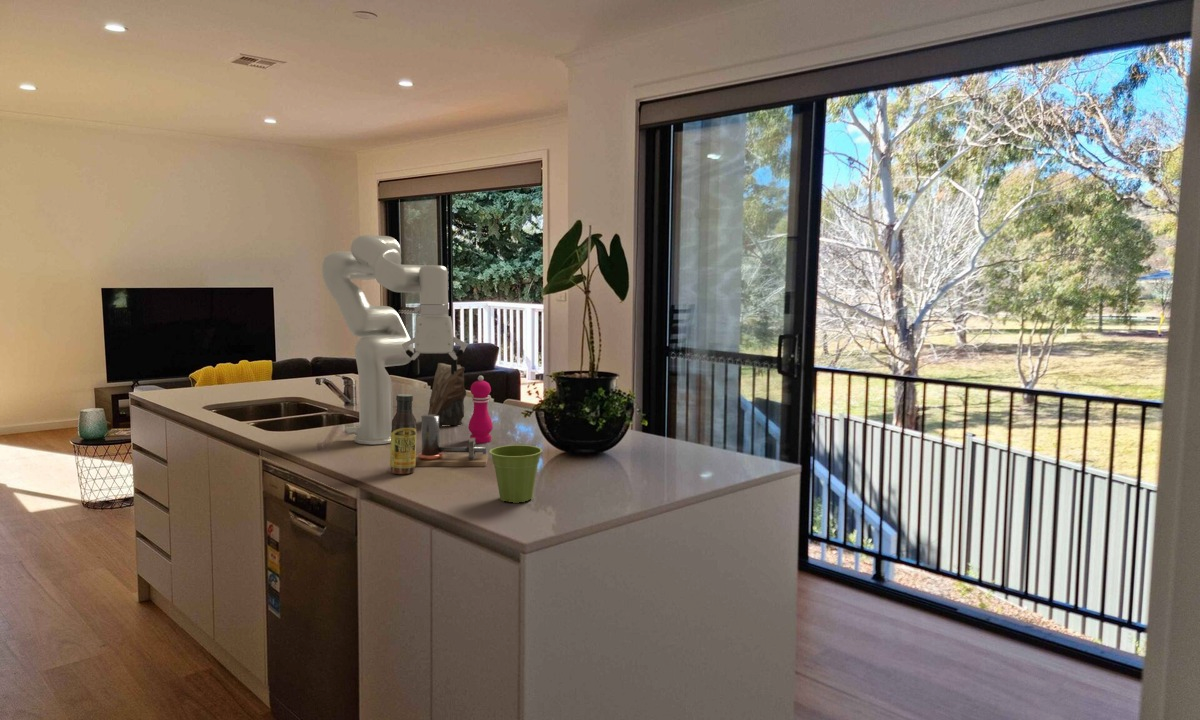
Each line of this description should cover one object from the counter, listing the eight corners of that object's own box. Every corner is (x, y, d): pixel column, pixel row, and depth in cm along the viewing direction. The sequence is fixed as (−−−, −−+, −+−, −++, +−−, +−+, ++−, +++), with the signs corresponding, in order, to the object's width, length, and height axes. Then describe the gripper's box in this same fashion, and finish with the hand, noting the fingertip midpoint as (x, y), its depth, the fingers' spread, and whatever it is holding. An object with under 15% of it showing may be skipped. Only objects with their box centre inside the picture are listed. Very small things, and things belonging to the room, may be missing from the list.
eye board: (400, 466, 205) (400, 443, 204) (407, 458, 214) (406, 436, 213) (485, 466, 206) (485, 443, 206) (488, 458, 215) (488, 436, 214)
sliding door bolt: (416, 460, 206) (416, 418, 205) (420, 454, 212) (420, 413, 211) (485, 460, 207) (485, 418, 206) (486, 454, 214) (487, 414, 212)
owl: (431, 420, 270) (431, 362, 268) (469, 420, 270) (469, 362, 268) (426, 427, 257) (425, 366, 255) (465, 427, 258) (465, 367, 256)
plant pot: (521, 489, 185) (522, 442, 184) (552, 500, 176) (553, 451, 175) (478, 497, 177) (478, 448, 176) (508, 510, 168) (509, 458, 167)
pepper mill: (495, 439, 240) (495, 374, 238) (489, 444, 233) (489, 377, 231) (472, 438, 241) (472, 373, 239) (465, 443, 234) (465, 376, 232)
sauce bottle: (393, 476, 194) (392, 397, 192) (387, 471, 200) (386, 393, 198) (419, 474, 197) (419, 395, 195) (413, 468, 203) (412, 392, 201)
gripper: (399, 311, 208) (400, 375, 209) (465, 311, 209) (466, 375, 211) (403, 310, 215) (405, 372, 217) (467, 310, 217) (468, 372, 218)
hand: (435, 374), depth 214 cm, fingers open, 9 cm apart
